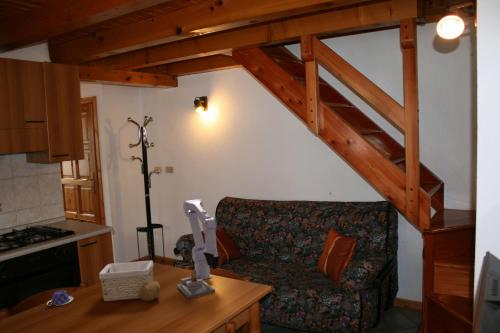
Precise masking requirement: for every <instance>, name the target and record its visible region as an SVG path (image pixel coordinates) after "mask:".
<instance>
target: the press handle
mask: <svg viewBox="0 0 500 333" xmlns="http://www.w3.org/2000/svg"><path fill="white" fill-rule="evenodd" d="M190 275H191V276H190V277H191V281H187V282H186V287H187V288H191V287H196V286H201V285H203V280H204V279H203V280H202V279H197V272H196V270H195V269H193V270H191V271H190Z"/></svg>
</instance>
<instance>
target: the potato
mask: <svg viewBox="0 0 500 333" xmlns="http://www.w3.org/2000/svg"><path fill="white" fill-rule="evenodd" d="M161 290H162V289H161V284H160V282H158V281H156V280H153V281H151V282H149V283H147V284H145V285H144V286H143V287H142V288H141V289H140V290H139V297H140V298H139V299H140V300H143V301H146V302H147V301H148V302H149V301H154V300H156V298H158V297H159V296H160V293H161Z"/></svg>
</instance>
